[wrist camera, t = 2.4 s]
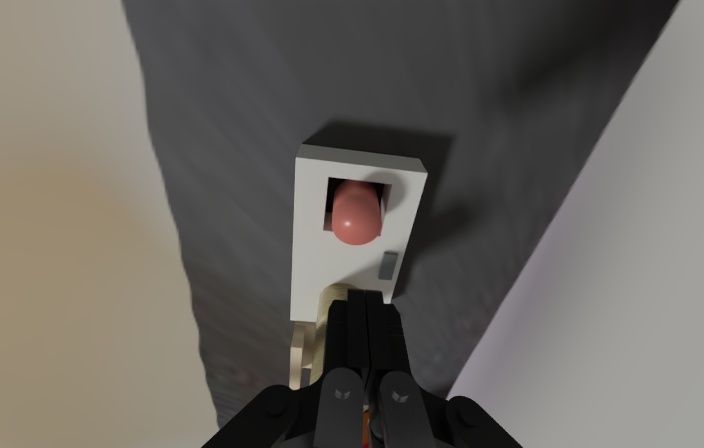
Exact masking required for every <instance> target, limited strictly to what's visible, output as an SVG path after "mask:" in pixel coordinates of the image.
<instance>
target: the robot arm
mask: <svg viewBox="0 0 704 448" xmlns="http://www.w3.org/2000/svg"><path fill="white" fill-rule="evenodd" d="M403 335H404V334H403V328H402V323H401V318H400V314H399V312H398V311H397V309H396V308H395V306H394V305H393V304H385V303H384V300H383V294H382V291H380V290H368V289H365V290H364V289H355V288H347V289H346V294H345V300H336V299H334V300H333V302H332V303H331V305H330V307H329V308H328V315H327V322H326V330H325V342H324V356H323V370H322V375H321V376H320V378H319V379H318V380H317V381H316V382H314V383H313V384H311V385H309V386H307V387H304V388H300V389H297V390H292V389H291V388H290V387H288V386H285V385H272V386H269V387H267V388H265V389H264V390H263V391H261V392H260V393H259V394H258V395H257V396H256V397H255V398H254V399H253V400H252V401H251V402H249V403H248V404H247V405H246V406H245V407H244V408H243V409H242V410H241V411H240V412H239V413H238V414H237V415H236V416H234V417H233V418H232V419H231V420H230V421H229V422H228V423H227V424H226V425H225V426H224V427H223V428H222V429H220V430H219V431H218V432H217V433H216V434H215V435H214V436H213V437H212V438H211V439H210V440H209V441H208V442H207V443H206V444H204V445H203V446H202V447H201V448H362V442H363V405H367V406H369V420H368V423H367V434H368V442H369V448H523V447H522V446H521V445H520V444H518V442H517V441H516V440H515V439H514V438H513V437H511V436H510V435H509V434H508V433H507V432H506V431H505V430H504V429H503V428H502V427H501V426H500V425H499V424H498V423H497V422H496V421H495V420H494V419H493V418H492V417H491V416H490V415H489V414H488V413H487V412H486V411H485V410H484V409H483V408H482V407H480V406H479V405H478V404H477V403H476V402H475V401H473V400H472V399H470V398H467V397H465V396H455V397H453V398H451V399H450V400H449V401H448V400H445V399H443V398H440V397H438V396H435V395H433V394H430V393H428V392H427V391H425V390H424V389H422V388H421V387H420V386H419V385H418V384H417V382H416V381H415V380H414V378H413V376H412V374H411V370H410V365H409V359H408V354H407V349H406V344H405V339H404V336H403Z"/></svg>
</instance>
